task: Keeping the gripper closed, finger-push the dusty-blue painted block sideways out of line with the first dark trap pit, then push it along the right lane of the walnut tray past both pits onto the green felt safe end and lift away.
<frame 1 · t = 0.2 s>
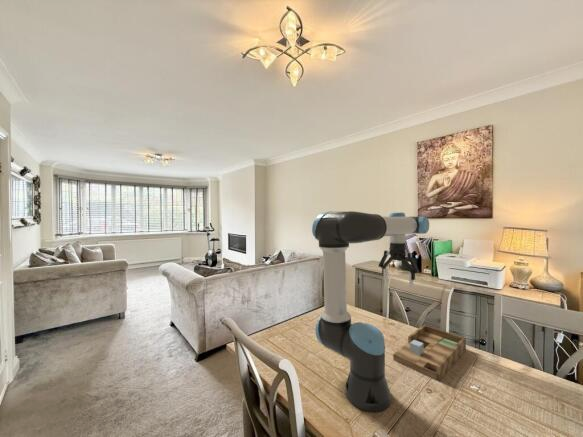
hand: (397, 283, 126), 27 cm above the table, fingers open, 13 cm apart
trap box: (430, 354, 109), on the table
block: (416, 352, 106), point 3 cm above the table, touching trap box
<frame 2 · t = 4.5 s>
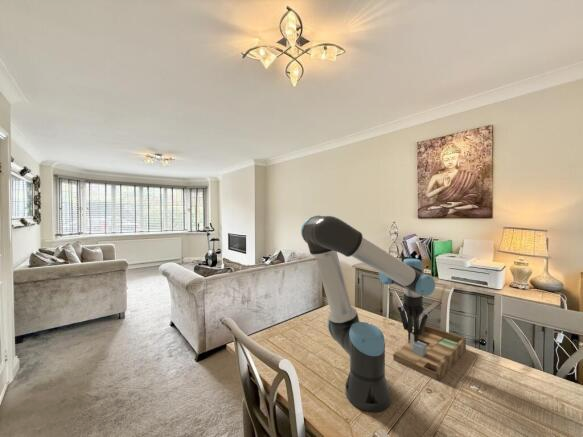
hand: (413, 347, 108), 4 cm above the table, fingers closed
block: (419, 353, 106), point 3 cm above the table, touching gripper
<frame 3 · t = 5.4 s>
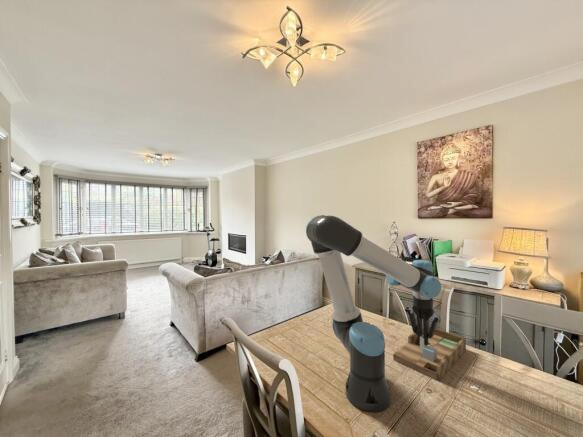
hand: (423, 351, 105), 4 cm above the table, fingers closed
block: (429, 357, 102), point 3 cm above the table, touching gripper, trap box
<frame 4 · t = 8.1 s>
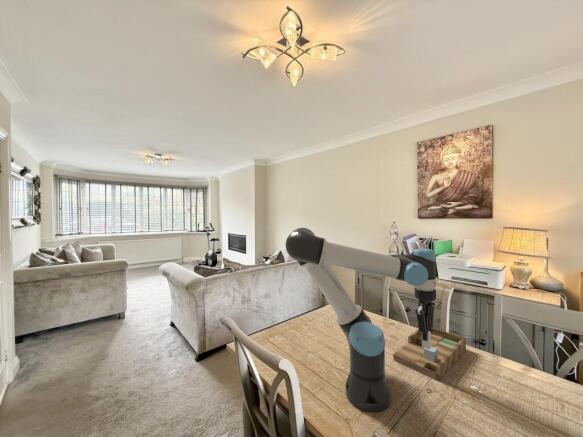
hand: (426, 347, 97), 10 cm above the table, fingers closed
block: (430, 357, 102), point 2 cm above the table, touching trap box
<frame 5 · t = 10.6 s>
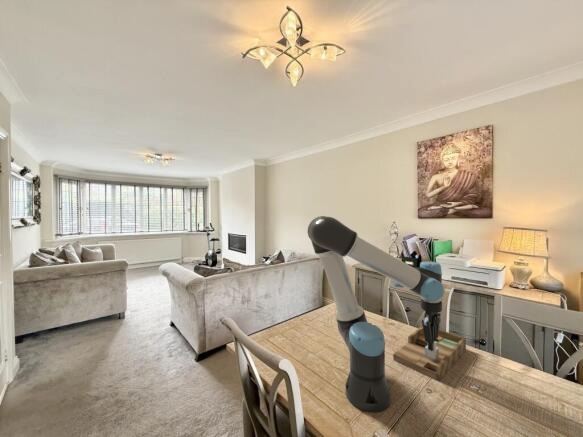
hand: (431, 356, 100), 4 cm above the table, fingers closed
block: (431, 356, 103), point 3 cm above the table, touching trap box
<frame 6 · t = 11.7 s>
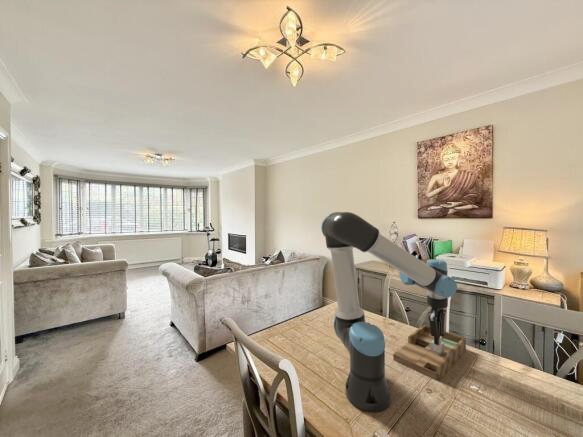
hand: (437, 350, 104), 4 cm above the table, fingers closed
block: (437, 351, 107), point 3 cm above the table, touching gripper, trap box
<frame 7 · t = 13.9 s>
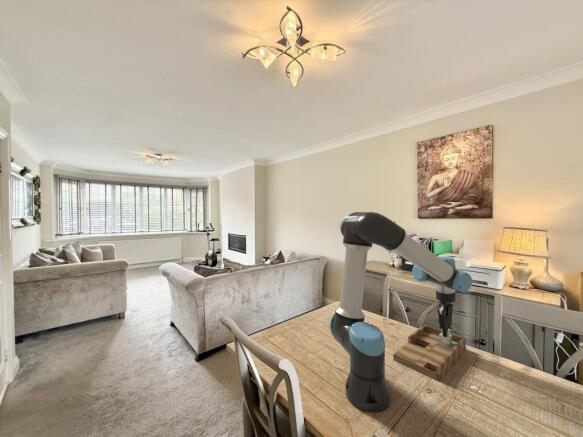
hand: (445, 342, 111), 4 cm above the table, fingers closed
block: (445, 343, 113), point 2 cm above the table, touching gripper
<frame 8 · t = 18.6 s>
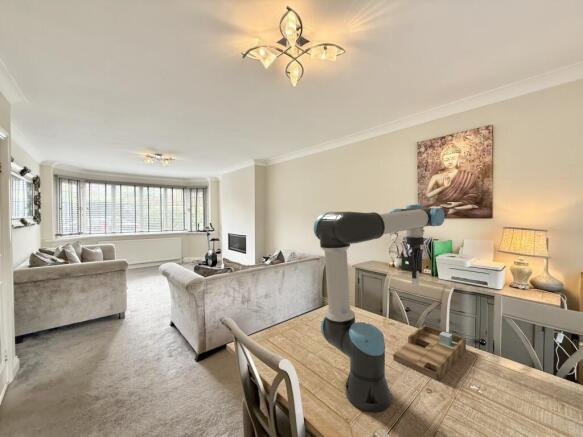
hand: (415, 284, 119), 28 cm above the table, fingers closed
block: (445, 342, 114), point 2 cm above the table, touching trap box
at the end: block inside the target area on the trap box (1.5 cm from its centre), point 2.3 cm above the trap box's base; block tilted 0° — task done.
